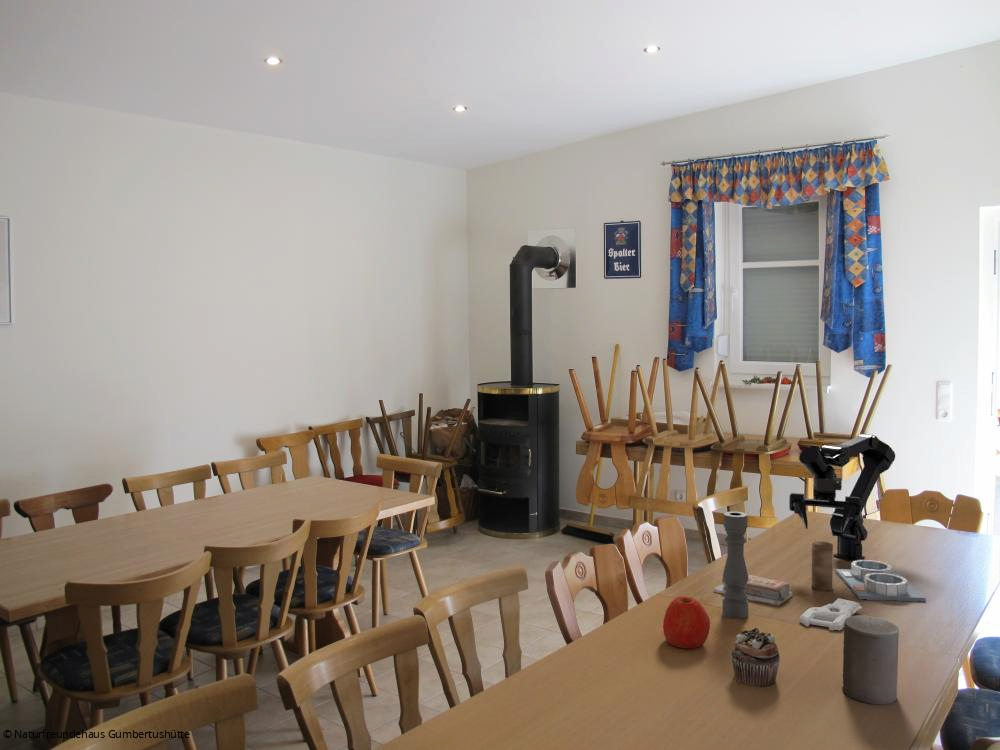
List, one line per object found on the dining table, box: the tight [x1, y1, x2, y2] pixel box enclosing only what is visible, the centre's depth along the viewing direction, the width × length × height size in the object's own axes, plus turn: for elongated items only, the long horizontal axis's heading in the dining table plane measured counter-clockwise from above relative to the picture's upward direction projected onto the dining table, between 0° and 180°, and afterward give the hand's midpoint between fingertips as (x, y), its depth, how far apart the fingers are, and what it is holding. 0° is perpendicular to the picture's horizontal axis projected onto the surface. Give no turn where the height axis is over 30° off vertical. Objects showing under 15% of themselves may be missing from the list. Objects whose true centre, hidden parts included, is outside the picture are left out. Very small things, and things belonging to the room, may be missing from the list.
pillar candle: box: [841, 614, 900, 705], centre depth 155 cm, size 10×10×15 cm
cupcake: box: [729, 627, 781, 688], centre depth 163 cm, size 10×10×10 cm
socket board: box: [835, 559, 927, 603], centre depth 218 cm, size 23×16×4 cm
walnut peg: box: [811, 541, 834, 592], centre depth 217 cm, size 5×5×12 cm
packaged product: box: [713, 573, 793, 606], centre depth 214 cm, size 18×5×10 cm
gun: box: [799, 597, 863, 632], centre depth 195 cm, size 18×4×10 cm
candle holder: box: [722, 511, 749, 620], centre depth 198 cm, size 6×6×25 cm
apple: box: [662, 596, 711, 649], centre depth 181 cm, size 10×10×10 cm
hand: (824, 529), depth 224 cm, fingers open, 9 cm apart
